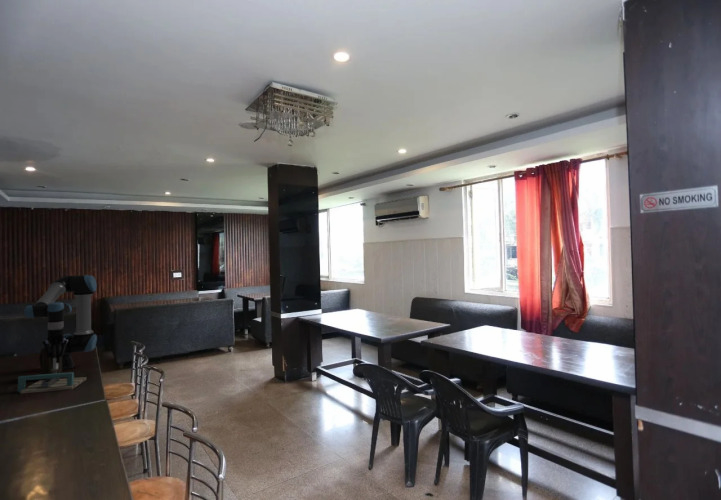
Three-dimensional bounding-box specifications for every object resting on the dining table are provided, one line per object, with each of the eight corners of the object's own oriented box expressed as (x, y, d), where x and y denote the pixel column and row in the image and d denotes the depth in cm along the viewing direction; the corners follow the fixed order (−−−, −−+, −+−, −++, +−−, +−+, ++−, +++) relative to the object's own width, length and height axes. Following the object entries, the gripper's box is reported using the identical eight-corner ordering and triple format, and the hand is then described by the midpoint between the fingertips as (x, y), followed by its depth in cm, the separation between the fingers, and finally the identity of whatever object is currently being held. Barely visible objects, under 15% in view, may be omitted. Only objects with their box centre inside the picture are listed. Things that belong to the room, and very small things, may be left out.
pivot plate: (39, 383, 240) (39, 367, 240) (86, 379, 246) (86, 364, 247) (20, 393, 221) (20, 376, 221) (71, 389, 227) (72, 373, 227)
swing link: (51, 380, 238) (51, 375, 238) (60, 379, 240) (60, 374, 240) (40, 387, 224) (40, 382, 224) (49, 386, 226) (49, 381, 226)
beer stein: (67, 375, 256) (65, 344, 257) (53, 380, 245) (51, 348, 246) (45, 376, 257) (44, 346, 258) (30, 381, 247) (29, 349, 247)
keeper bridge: (20, 391, 225) (20, 376, 225) (73, 386, 232) (73, 372, 232) (17, 392, 223) (17, 377, 223) (71, 387, 230) (71, 373, 230)
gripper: (71, 327, 239) (71, 366, 238) (46, 328, 236) (46, 367, 236) (64, 329, 231) (64, 369, 231) (39, 330, 229) (39, 371, 228)
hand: (55, 368), depth 233 cm, fingers closed
